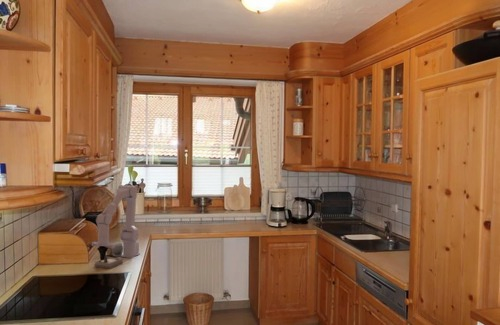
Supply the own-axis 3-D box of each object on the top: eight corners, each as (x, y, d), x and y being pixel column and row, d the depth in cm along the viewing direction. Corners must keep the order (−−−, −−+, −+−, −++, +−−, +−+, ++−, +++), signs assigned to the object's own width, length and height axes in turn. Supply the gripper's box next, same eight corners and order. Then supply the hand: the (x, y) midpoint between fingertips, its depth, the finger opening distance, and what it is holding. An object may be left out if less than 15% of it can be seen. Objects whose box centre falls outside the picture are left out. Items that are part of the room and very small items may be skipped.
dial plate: (106, 261, 222) (106, 256, 222) (122, 263, 218) (122, 258, 218) (94, 266, 212) (94, 261, 212) (110, 268, 209) (110, 263, 209)
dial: (105, 260, 220) (105, 251, 220) (118, 260, 219) (118, 252, 219) (98, 264, 212) (98, 255, 212) (111, 264, 211) (111, 256, 211)
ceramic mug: (105, 254, 237) (105, 242, 237) (118, 252, 243) (118, 240, 242) (112, 258, 229) (112, 245, 229) (125, 255, 235) (125, 243, 235)
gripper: (87, 235, 211) (87, 259, 211) (109, 238, 206) (108, 263, 206) (97, 233, 217) (96, 256, 217) (117, 235, 212) (117, 259, 212)
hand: (102, 259), depth 212 cm, fingers closed, pressing on dial
